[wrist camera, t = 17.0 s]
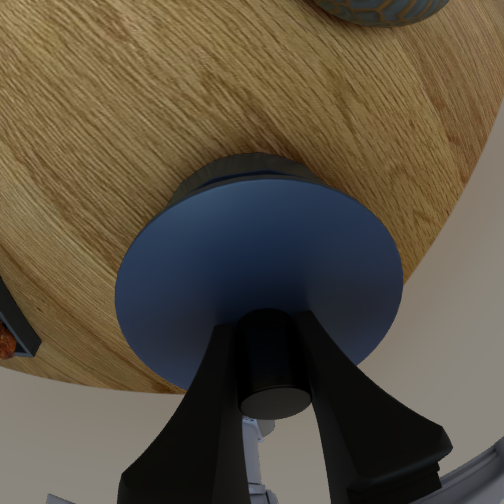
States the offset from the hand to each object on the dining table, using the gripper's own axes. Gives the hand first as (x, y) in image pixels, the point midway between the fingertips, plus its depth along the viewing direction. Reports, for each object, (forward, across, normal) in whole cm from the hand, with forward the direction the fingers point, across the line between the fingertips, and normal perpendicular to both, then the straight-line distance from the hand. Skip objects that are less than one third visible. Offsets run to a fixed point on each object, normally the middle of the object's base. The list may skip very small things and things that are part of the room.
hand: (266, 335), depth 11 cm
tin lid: (+1, 0, 0) cm, 1 cm away
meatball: (+7, +24, +4) cm, 25 cm away
